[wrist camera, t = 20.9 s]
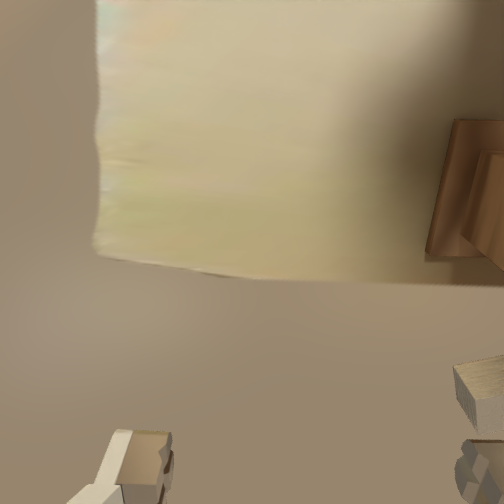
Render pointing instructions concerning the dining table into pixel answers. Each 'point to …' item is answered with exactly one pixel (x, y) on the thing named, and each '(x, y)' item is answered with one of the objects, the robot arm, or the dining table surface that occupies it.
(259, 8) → the dining table surface
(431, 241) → the scale stand
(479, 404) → the grey and tan bar
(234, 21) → the dining table surface
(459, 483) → the robot arm
